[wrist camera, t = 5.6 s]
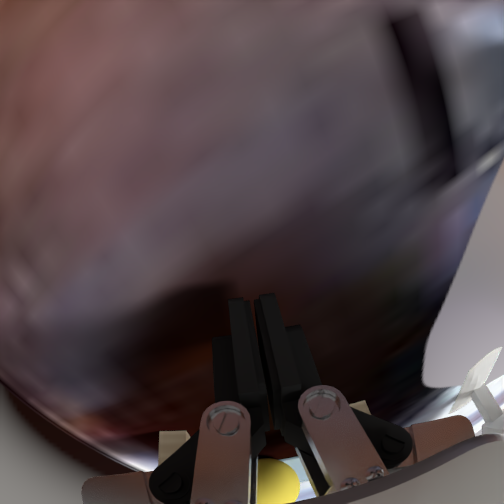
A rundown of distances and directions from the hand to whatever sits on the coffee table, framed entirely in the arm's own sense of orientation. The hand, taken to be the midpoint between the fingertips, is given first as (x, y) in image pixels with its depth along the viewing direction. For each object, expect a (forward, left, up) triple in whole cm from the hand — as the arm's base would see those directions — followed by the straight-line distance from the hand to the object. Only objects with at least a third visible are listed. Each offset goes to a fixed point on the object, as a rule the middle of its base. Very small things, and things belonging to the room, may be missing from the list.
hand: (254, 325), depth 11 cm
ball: (+20, -1, +2) cm, 20 cm away
